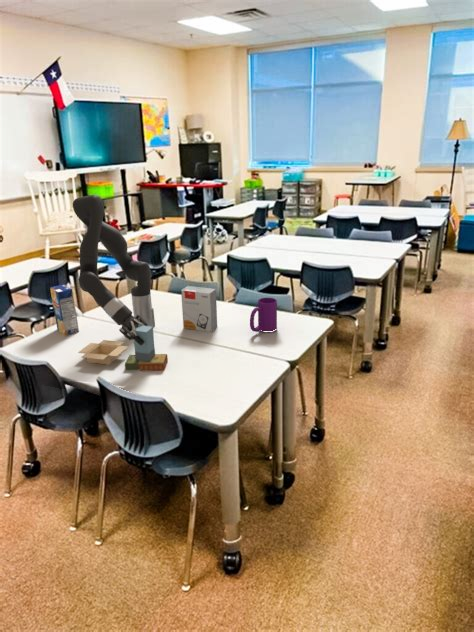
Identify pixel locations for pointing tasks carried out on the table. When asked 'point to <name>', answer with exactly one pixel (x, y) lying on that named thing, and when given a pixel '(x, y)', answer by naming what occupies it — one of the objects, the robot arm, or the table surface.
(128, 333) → the robot arm
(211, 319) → the hard drive box
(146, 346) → the slate box
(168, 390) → the table surface
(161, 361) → the carton
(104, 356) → the kraft carton
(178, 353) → the table surface
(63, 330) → the beverage box
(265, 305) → the mug
